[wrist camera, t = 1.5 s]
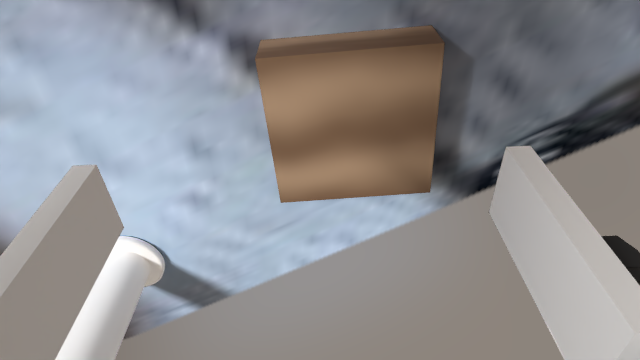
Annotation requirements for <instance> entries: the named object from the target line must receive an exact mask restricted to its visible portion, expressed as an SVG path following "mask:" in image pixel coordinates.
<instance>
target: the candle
mask: <svg viewBox="0 0 640 360" xmlns="http://www.w3.org/2000/svg"><path fill="white" fill-rule="evenodd" d="M164 270H165V261H164V258H163V256H162V255H161V253H160V252H159V251H158V250H157V249H156V248H155V247H153V246H152V245H151V244H149V243H147V242H145V241H143V240H140V239H138V238H134V237H129V236H119V238H118V240H117V242H116V244H115V246H114V247H113V249H112V251H111V253H110V255H109V257H108V259H107V261H106V263H105V265H104V267H103V269H102V271H101V272H100V274H99V276H98V278H97V280H96V282H95V284H94V286H93V288H92V290H91V292H90V294H89V295H88V297H87V299H86V301H85V303H84V305H83V307H82V309H81V311H80V313H79V315H78V317H77V319H76V320H75V322H74V324H73V326H72V328H71V330H70V332H69V334H68V336H67V338H66V340H65V342H64V343H63V345H62V347H61V349H60V351H59V353H58V355H57V357H56V359H55V360H115V357H116V355H117V353H118V350H119V348H120V345H121V343H122V340H123V338H124V335H125V333H126V330H127V328H128V325H129V323H130V320H131V318H132V316H133V313H134V311H135V308H136V306H137V303H138V301H139V298H140V296H141V293H142V291H143V288H144V287H147V286H150V285H153V284H155V283H156V282H158V281H159V280H160V279H161V277H162V276H163V273H164Z"/></svg>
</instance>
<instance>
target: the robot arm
mask: <svg viewBox="0 0 640 360" xmlns="http://www.w3.org/2000/svg"><path fill="white" fill-rule="evenodd" d="M489 214H490V216H491V218H492V220H493V221H494V223H495V225H496V227H497V229H498V231H499V233H500V235H501V237H502V239H503V241H504V243H505V245H506V247H507V249H508V251H509V253H510V255H511V257H512V259H513V261H514V263H515V264H516V266H517V268H518V270H519V272H520V274H521V276H522V278H523V280H524V282H525V284H526V286H527V288H528V290H529V292H530V294H531V296H532V298H533V300H534V302H535V304H536V305H537V307H538V309H539V311H540V313H541V315H542V317H543V319H544V321H545V323H546V325H547V327H548V329H549V331H550V333H551V335H552V337H553V339H554V341H555V343H556V344H557V346H558V348H559V350H560V352H561V354H562V356H563V358H564V360H640V253H639V252H638V250H636V249H635V248H634V247H632V246H631V245H629V244H628V243H626V242H625V241H624V240H622V239H621V238H619V237H618V236H601V235H600V234H599V233H598V232H597V230H596V229H595V228H594V227H593V225H592V224H591V223H590V221H589V220H588V219H587V218H586V216H585V215H584V214H583V212H582V211H581V210H580V209H579V207H578V206H577V205H576V204H575V202H574V201H573V200H572V198H571V197H570V196H569V195H568V193H567V192H566V191H565V189H564V188H563V187H562V186H561V184H560V183H559V182H558V181H557V179H556V178H555V177H554V175H553V174H552V173H551V172H550V170H549V169H548V168H547V166H546V165H545V164H544V163H543V161H542V160H541V159H540V158H539V156H538V155H537V154H536V152H535V151H534V150H533V149H532V147H531V146H514V147H506V149H505V153H504V157H503V160H502V164H501V168H500V172H499V175H498V179H497V183H496V187H495V190H494V194H493V198H492V202H491V205H490V209H489ZM123 228H124V226H123V224H122V222H121V219H120V217H119V215H118V213H117V210H116V208H115V206H114V204H113V201H112V199H111V197H110V194H109V192H108V190H107V188H106V185H105V183H104V181H103V179H102V176H101V174H100V172H99V170H98V167H97V165H77V166H72V167H71V168H70V170H69V171H68V172H67V173H66V175H65V176H64V177H63V178H62V180H61V181H60V182H59V183H58V185H57V186H56V187H55V189H54V190H53V191H52V192H51V194H50V195H49V196H48V197H47V199H46V200H45V201H44V202H43V204H42V205H41V206H40V207H39V209H38V210H37V211H36V212H35V214H34V215H33V216H32V217H31V219H30V220H29V221H28V222H27V224H26V225H25V226H24V227H23V229H22V230H21V231H20V232H19V234H18V235H17V236H16V237H15V239H14V240H13V241H12V242H11V244H10V245H9V246H8V247H7V249H6V250H5V251H4V252H3V254H2V255H1V256H0V360H55V359H56V357H57V355H58V353H59V351H60V349H61V347H62V345H63V343H64V342H65V340H66V338H67V336H68V334H69V332H70V330H71V328H72V326H73V324H74V322H75V320H76V319H77V317H78V315H79V313H80V311H81V309H82V307H83V305H84V303H85V301H86V299H87V297H88V295H89V294H90V292H91V290H92V288H93V286H94V284H95V282H96V280H97V278H98V276H99V274H100V272H101V271H102V269H103V267H104V265H105V263H106V261H107V259H108V257H109V255H110V253H111V251H112V249H113V247H114V246H115V244H116V242H117V240H118V238H119V236H120V234H121V232H122V230H123Z"/></svg>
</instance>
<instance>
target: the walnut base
mask: <svg viewBox="0 0 640 360" xmlns="http://www.w3.org/2000/svg"><path fill="white" fill-rule="evenodd" d="M444 45H445V43H444V41H443V40H442V39H441V37H440V36H439V35H438V33H437V32H436V30H435V29H434V28H433V26H432V25H430V26H418V27H407V28H395V29H384V30H372V31H361V32H349V33H338V34H326V35H314V36H303V37H291V38H280V39H268V40H261V41H260V45H259V48H258V51H257V54H256V58H255V61H256V66H257V72H258V78H259V83H260V89H261V94H262V100H263V106H264V111H265V117H266V122H267V128H268V133H269V139H270V145H271V150H272V156H273V161H274V167H275V172H276V178H277V184H278V189H279V195H280V200H281V203H283V202H297V201H312V200H326V199H340V198H354V197H369V196H383V195H397V194H412V193H426V192H430V189H431V178H432V168H433V158H434V147H435V137H436V127H437V117H438V106H439V96H440V86H441V75H442V65H443V55H444Z"/></svg>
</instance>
